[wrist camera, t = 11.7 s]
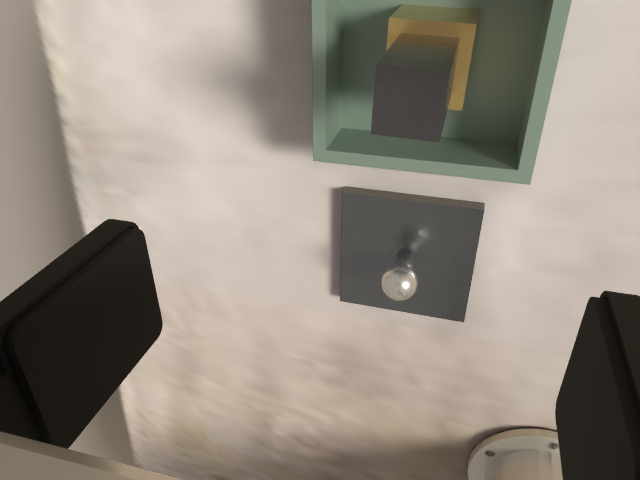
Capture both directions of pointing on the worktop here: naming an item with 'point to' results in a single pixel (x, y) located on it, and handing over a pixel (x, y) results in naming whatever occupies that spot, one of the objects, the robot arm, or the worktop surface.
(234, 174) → the worktop surface
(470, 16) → the strut
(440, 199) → the ball stud
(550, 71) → the bin
